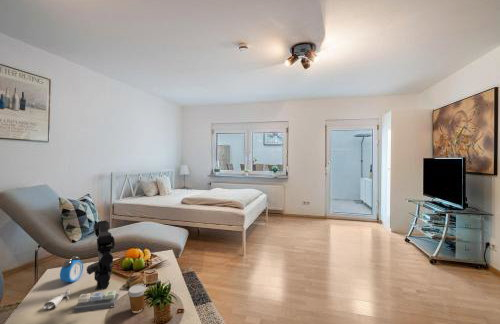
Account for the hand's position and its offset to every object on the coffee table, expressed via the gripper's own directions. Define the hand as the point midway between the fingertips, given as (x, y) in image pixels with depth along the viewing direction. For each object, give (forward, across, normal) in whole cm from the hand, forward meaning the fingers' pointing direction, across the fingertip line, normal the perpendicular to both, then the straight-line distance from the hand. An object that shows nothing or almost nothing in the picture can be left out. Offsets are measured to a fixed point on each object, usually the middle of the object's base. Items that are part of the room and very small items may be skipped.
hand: (105, 284), depth 136 cm
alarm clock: (+12, -36, -23) cm, 44 cm away
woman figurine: (+12, -12, -24) cm, 30 cm away
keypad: (+11, -2, -4) cm, 12 cm away
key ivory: (+8, -3, -11) cm, 14 cm away
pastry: (+12, -15, +17) cm, 26 cm away
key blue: (+8, -2, -4) cm, 10 cm away
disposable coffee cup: (+11, +12, +16) cm, 23 cm away
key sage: (+8, -1, +2) cm, 9 cm away
